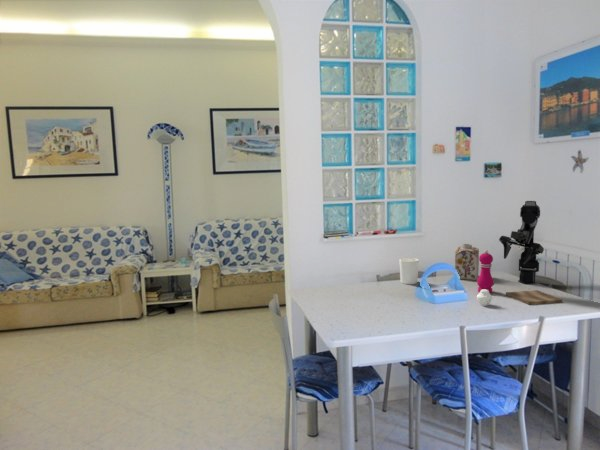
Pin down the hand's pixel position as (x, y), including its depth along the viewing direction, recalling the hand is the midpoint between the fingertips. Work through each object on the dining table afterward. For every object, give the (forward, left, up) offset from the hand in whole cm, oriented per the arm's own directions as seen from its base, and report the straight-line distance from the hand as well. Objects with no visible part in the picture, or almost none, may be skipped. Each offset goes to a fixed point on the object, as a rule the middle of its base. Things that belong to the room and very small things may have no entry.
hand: (514, 261), depth 209 cm
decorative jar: (+4, -34, -15) cm, 38 cm away
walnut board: (-3, +10, -15) cm, 18 cm away
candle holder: (+38, -31, -15) cm, 51 cm away
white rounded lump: (+23, +14, -15) cm, 31 cm away
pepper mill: (+11, -5, -15) cm, 20 cm away
